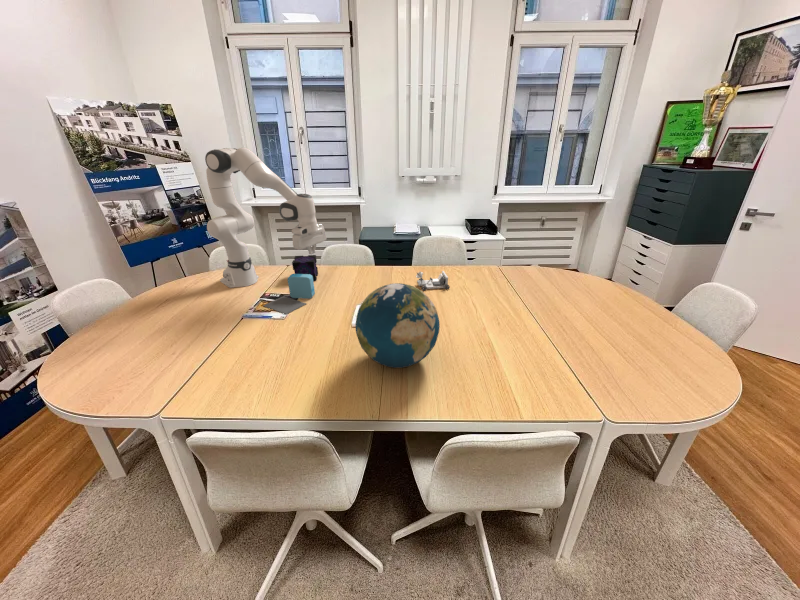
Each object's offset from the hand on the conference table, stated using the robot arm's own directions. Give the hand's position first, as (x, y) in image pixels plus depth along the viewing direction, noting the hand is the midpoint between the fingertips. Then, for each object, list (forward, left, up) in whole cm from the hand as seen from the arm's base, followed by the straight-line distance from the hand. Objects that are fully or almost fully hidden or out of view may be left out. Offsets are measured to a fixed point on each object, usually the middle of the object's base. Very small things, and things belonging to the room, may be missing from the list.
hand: (312, 253), depth 181 cm
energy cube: (-18, +10, -21) cm, 30 cm away
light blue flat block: (0, -10, -21) cm, 23 cm away
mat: (0, -22, -21) cm, 30 cm away
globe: (+73, -31, -21) cm, 82 cm away
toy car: (+51, +37, -22) cm, 67 cm away
